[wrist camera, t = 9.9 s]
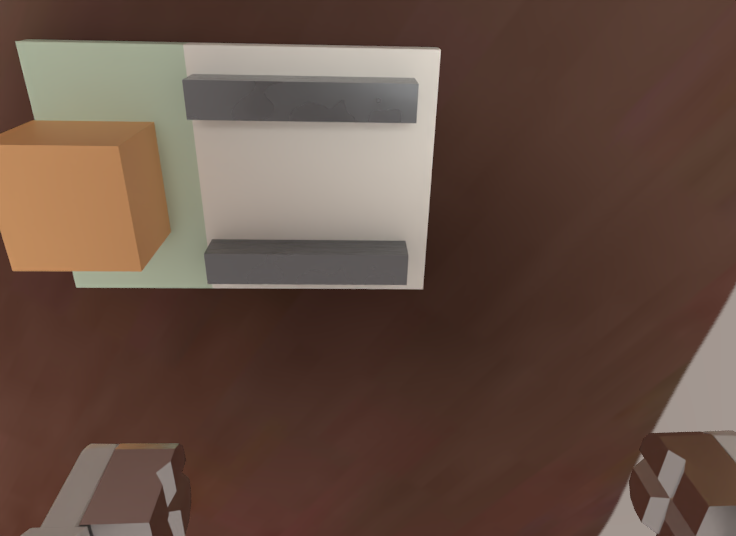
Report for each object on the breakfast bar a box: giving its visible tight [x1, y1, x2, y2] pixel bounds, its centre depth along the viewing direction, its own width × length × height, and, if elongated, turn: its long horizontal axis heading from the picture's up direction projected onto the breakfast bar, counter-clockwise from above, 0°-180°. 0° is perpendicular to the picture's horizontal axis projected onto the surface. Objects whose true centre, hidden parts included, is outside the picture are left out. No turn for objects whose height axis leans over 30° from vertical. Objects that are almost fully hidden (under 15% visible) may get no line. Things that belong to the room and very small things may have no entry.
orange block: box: [0, 120, 171, 272], centre depth 22 cm, size 5×5×4 cm
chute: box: [15, 39, 441, 289], centre depth 24 cm, size 17×11×3 cm, turn 89°
